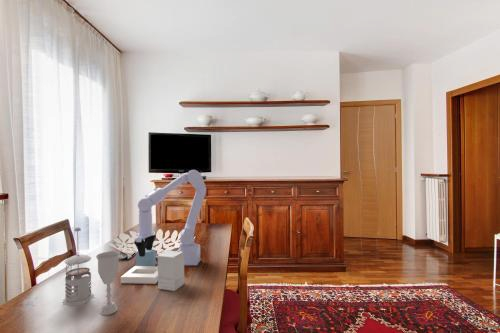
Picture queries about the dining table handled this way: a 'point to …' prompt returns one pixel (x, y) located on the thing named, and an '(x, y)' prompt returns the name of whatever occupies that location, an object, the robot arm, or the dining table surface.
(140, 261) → the block
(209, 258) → the dining table surface
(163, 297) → the dining table surface
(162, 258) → the supplement box
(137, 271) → the white rectangular frame
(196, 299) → the dining table surface
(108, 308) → the chalice
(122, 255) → the woman figurine
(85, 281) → the french press
